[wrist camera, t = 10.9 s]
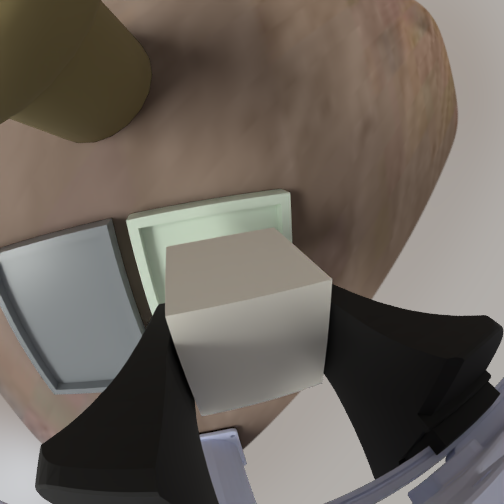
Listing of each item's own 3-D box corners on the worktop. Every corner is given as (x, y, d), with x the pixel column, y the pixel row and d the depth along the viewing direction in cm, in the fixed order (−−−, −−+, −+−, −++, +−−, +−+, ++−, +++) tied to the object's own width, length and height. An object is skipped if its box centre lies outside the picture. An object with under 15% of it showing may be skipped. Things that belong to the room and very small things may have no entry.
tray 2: (287, 345, 19) (293, 355, 18) (176, 370, 17) (177, 382, 16) (281, 188, 15) (290, 192, 14) (129, 214, 13) (125, 220, 12)
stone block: (278, 314, 13) (322, 383, 9) (188, 334, 12) (201, 416, 8) (273, 227, 11) (332, 279, 7) (166, 246, 10) (165, 316, 6)
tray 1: (162, 372, 17) (163, 385, 16) (57, 383, 15) (54, 394, 14) (111, 218, 13) (106, 224, 12) (-10, 251, 11) (-19, 259, 10)
